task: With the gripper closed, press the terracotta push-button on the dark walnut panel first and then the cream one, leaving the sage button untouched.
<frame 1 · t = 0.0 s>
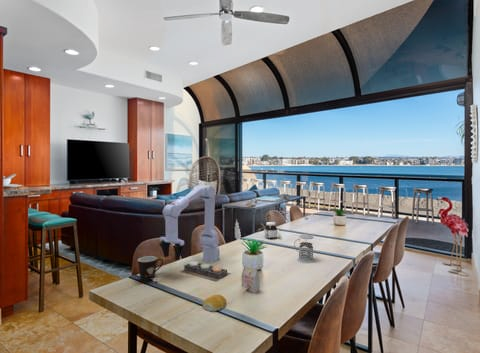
hand: (171, 258, 138), 10 cm above the table, fingers open, 7 cm apart
terracotta button: (217, 270, 139), point 4 cm above the table, slide at 0.0 cm
bread roll: (214, 307, 112), on the table
cream button: (193, 264, 147), point 4 cm above the table, slide at 0.0 cm
button panel: (205, 275, 143), on the table
french press: (304, 260, 166), on the table
coffee mug: (150, 279, 138), on the table
sage button: (205, 267, 143), point 4 cm above the table, slide at 0.0 cm
tea bag: (250, 290, 126), on the table
spread jar: (273, 238, 218), on the table
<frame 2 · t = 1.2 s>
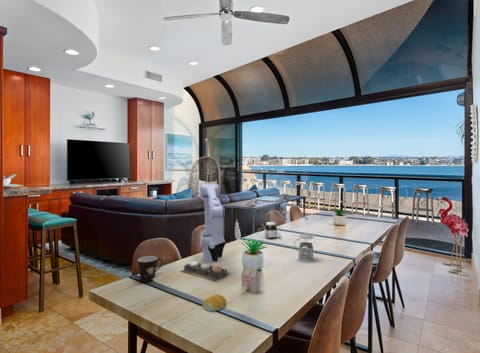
hand: (217, 259, 138), 9 cm above the table, fingers open, 6 cm apart
nothing on the table moved.
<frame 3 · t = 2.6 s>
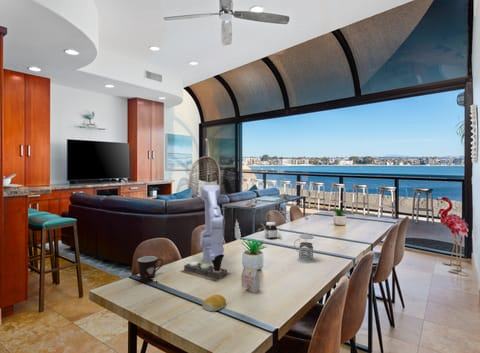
hand: (217, 270, 139), 4 cm above the table, fingers closed, pressing on terracotta button
terracotta button: (217, 272, 139), point 3 cm above the table, slide at 1.1 cm, touching gripper
everything else where it was.
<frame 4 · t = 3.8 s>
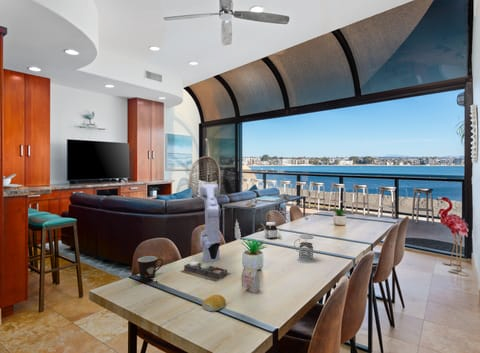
hand: (213, 258, 140), 9 cm above the table, fingers closed
terracotta button: (217, 273, 139), point 3 cm above the table, slide at 1.6 cm
everything else where it was.
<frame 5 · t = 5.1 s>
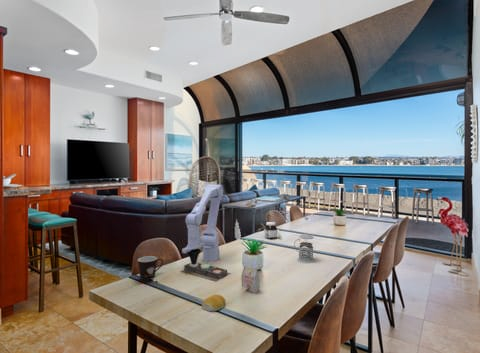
hand: (193, 263, 147), 4 cm above the table, fingers closed, pressing on cream button
cream button: (193, 265, 147), point 3 cm above the table, slide at 0.7 cm, touching gripper
everything else where it was.
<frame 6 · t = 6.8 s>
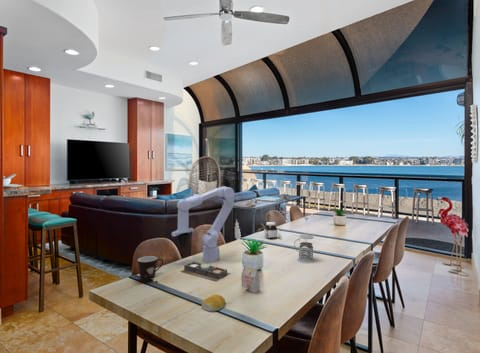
hand: (182, 247, 156), 10 cm above the table, fingers closed
cream button: (193, 267, 147), point 3 cm above the table, slide at 1.6 cm
everything else where it was.
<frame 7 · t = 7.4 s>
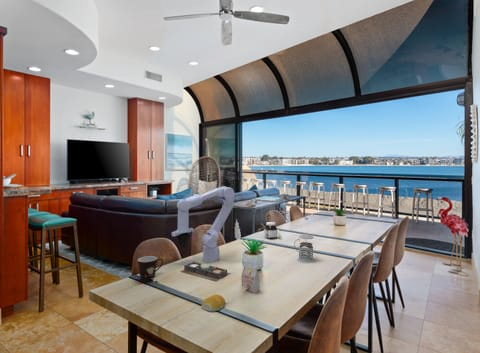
hand: (182, 247, 156), 10 cm above the table, fingers closed
nothing on the table moved.
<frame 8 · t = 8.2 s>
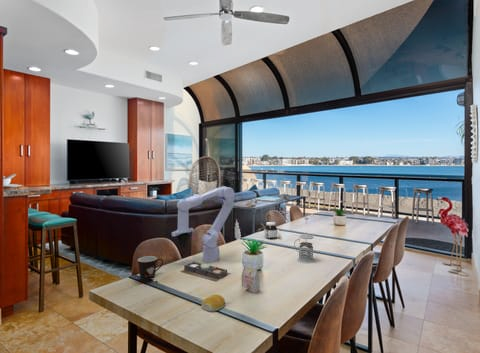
hand: (182, 247, 156), 10 cm above the table, fingers closed
nothing on the table moved.
at the end: terracotta button slide at 1.6 cm; cream button slide at 1.6 cm; sage button slide at 0.0 cm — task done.
